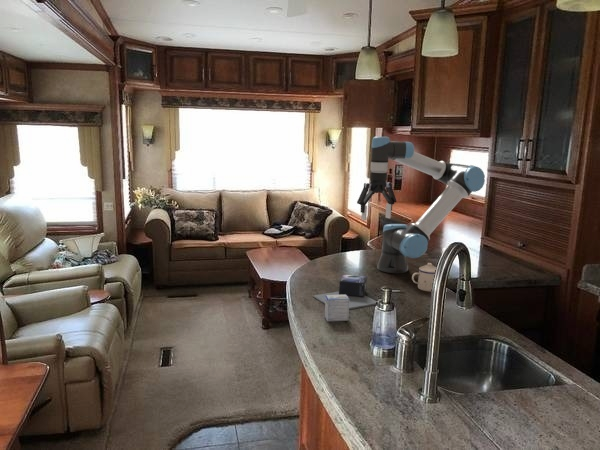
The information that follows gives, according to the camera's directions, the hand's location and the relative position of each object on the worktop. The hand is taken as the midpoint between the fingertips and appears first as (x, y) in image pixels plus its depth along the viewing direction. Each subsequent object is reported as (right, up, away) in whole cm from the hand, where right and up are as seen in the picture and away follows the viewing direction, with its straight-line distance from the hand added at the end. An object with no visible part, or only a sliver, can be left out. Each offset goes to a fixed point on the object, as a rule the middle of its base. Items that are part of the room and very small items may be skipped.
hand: (376, 219), depth 215 cm
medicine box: (-21, -37, -42) cm, 60 cm away
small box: (-7, -28, -17) cm, 34 cm away
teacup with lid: (+21, -31, -5) cm, 38 cm away
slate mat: (-16, -33, -23) cm, 43 cm away
